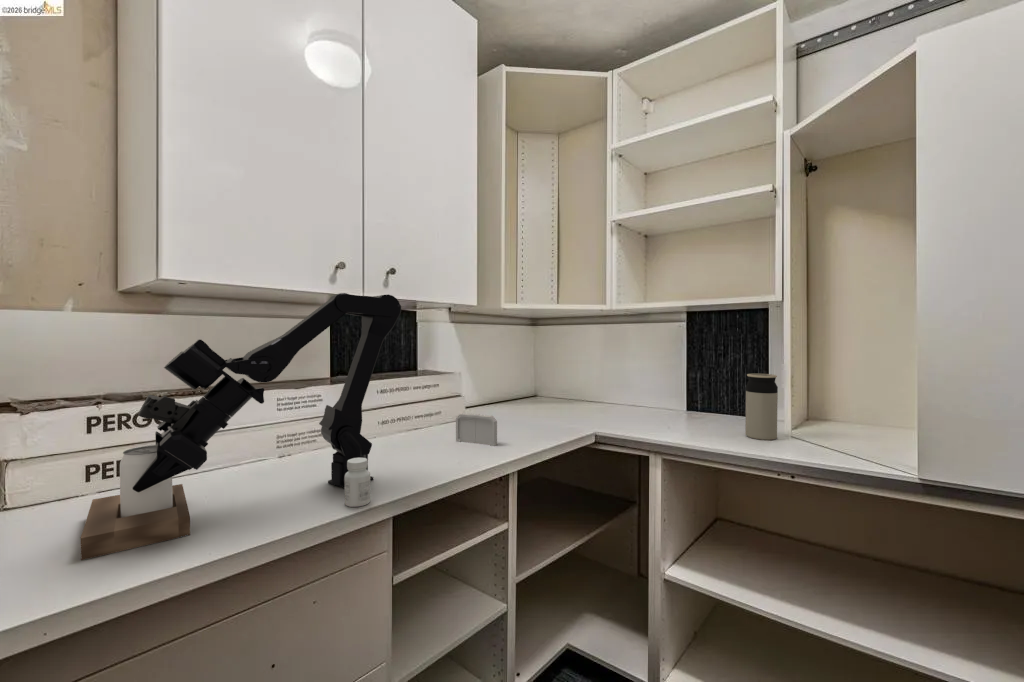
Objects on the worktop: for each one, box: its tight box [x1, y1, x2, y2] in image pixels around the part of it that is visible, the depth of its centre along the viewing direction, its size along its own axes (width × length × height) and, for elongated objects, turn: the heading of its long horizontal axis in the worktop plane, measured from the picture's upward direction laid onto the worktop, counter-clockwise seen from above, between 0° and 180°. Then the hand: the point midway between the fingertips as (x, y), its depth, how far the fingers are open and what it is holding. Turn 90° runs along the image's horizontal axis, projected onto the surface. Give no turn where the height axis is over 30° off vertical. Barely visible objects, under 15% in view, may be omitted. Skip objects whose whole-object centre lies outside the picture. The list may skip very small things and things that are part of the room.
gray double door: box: [455, 412, 498, 447], centre depth 124 cm, size 2×12×8 cm, turn 65°
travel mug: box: [744, 373, 779, 441], centre depth 130 cm, size 8×8×18 cm
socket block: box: [80, 483, 191, 561], centre depth 72 cm, size 12×18×3 cm, turn 39°
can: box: [119, 444, 173, 518], centre depth 72 cm, size 6×6×12 cm
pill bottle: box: [344, 458, 372, 508], centre depth 81 cm, size 4×4×8 cm
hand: (135, 485), depth 71 cm, fingers open, 6 cm apart
